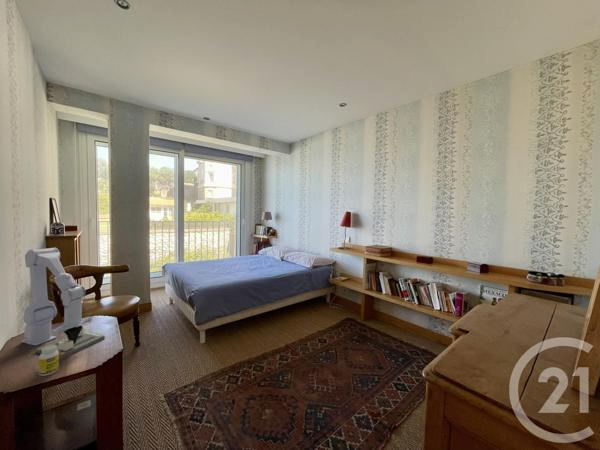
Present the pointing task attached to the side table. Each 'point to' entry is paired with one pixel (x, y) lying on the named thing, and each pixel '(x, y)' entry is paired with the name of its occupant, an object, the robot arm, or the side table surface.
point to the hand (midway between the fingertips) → (72, 343)
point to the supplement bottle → (48, 360)
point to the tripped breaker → (65, 344)
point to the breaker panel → (80, 343)
